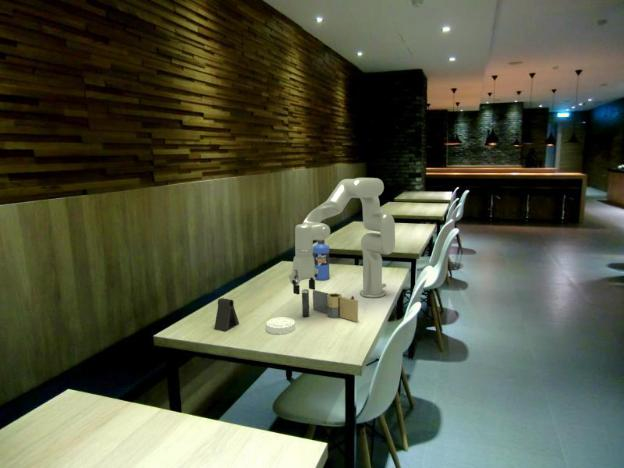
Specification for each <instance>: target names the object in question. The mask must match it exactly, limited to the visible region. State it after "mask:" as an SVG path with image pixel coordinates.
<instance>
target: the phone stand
mask: <svg viewBox="0 0 624 468" xmlns="http://www.w3.org/2000/svg"><path fill="white" fill-rule="evenodd" d="M234 304H235V303H234V300H233V299H230V298H229V299H228V298H222V297H221V298H218V300H217V310H216V316H215V322H214V328H213V329H214V330H218V331H221V332H228V331H229V330H231V329H234V328H235V327H237V326H239V325H240V321H239V319H238V315H237V312H236V309H235V305H234Z"/></svg>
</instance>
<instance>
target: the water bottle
mask: <svg viewBox="0 0 624 468" xmlns="http://www.w3.org/2000/svg"><path fill="white" fill-rule="evenodd" d="M325 240H326V239H325ZM325 240H316V242H317V244H315V245H313V257H314V263H315V268H316V269H318V270H319V271H318V274H317V277H316V281H318V282H325V281H329V280H330V260H329V256H330V246H329V245H327V244H326V243H325V242H326V241H325Z"/></svg>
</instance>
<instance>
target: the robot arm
mask: <svg viewBox="0 0 624 468" xmlns="http://www.w3.org/2000/svg"><path fill="white" fill-rule="evenodd" d="M384 189H385V186H384V182H383V180H382V179H380V178H378V177H376V178H375V177H356V178H345V179H342V180H341V181H339V183H338V184H337V185H336V187H335V188H334V189H333V190H332V193H331V194H330V195H329V197H328V198H327V200H326V201H325V202H323V203H321V204H320V205H318V206H317V207H315V208H314V209H313V210H311V211H310V212H309V213H308V214H307V216H306V217H305V219H304V220H303V222H302V223H300V224H299V223H298V224H296V226H294V230H295V231H294V234H295V235H294V237H295V238H294V240H295V241H294V242H295V243H294V244H295V245H294V247H295V248H294V251H295V256H293V262H292V269H291V270H292V272H291V273H290V275H288V278H289V280H290V281H289V282H290V283H291V284H292V286H293V287H292V290H293V294H295V295H300V285H299V284H300V283H301V281H304V280H308V290H312V291H313V290H316V281H317V280H316V277H317V274H318V271H319V270H318V269H316V268H315V263H314V253H313V246H314V241H317V240H326V239H328V238H329V237H330V235H331V228H330V226H329V225H328V224H326V223H323V222H322V221H324V220H325V219H329V218H332V217H335V216H337V215H339V214H342V212H343V211H344V210H345V207H346V206H347V205H348V204H349V202H350V200H351V199H352V198H353V199H360V202H361V205H362V223H363V227H364V229H366V230H367V231H373V232H367V233H365V234H363V235H362V236H361V239H360V246H361V247H360V248H361V251H362V260H363V261H362V289H361V290H360V291H359V294H360V296H362V297H365V298H371V299H372V298H373V299H375V298H381V297H384V296H385V295H386V292H385V291H384V288H386V287H387V284H386V283H383V258H382V256H381V255H391V254H392V253H393V252H394V251H395V247H396V225H395V219H394V217H393V215H392V214H390V213H389V212H385V211H384V212H382V211H381V205H380V204H381V203H380V199H379V196H381V195H382V193H383V192H384ZM377 232H378V233H377Z"/></svg>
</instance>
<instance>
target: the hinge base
mask: <svg viewBox="0 0 624 468" xmlns="http://www.w3.org/2000/svg"><path fill="white" fill-rule="evenodd" d="M328 294H329V293H328V292H323V291H321V290H316V289H315V290H312V311H317V312H319V313H322V314H326V315H327V318H331V319H338V318H339V319H340V318H341V317H340V307H338V308H331V307H328V306H327V295H328Z"/></svg>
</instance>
